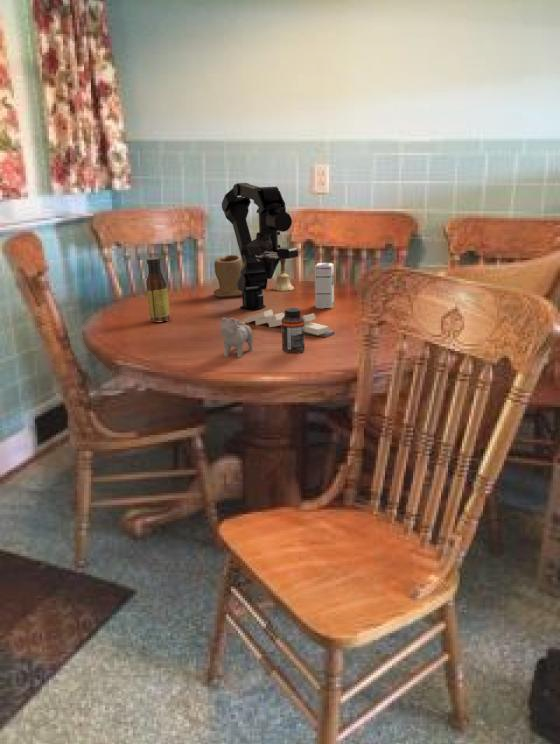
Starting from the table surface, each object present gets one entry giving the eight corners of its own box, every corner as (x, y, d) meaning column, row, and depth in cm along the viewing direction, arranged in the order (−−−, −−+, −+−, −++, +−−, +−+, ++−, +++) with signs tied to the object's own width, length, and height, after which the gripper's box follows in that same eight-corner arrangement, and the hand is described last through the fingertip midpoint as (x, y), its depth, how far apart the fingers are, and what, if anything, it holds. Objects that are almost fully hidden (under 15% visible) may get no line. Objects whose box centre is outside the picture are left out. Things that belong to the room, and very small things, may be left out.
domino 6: (303, 330, 192) (326, 334, 187) (311, 327, 195) (334, 330, 190) (303, 335, 192) (326, 339, 187) (311, 332, 195) (334, 336, 191)
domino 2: (255, 320, 202) (274, 315, 197) (263, 317, 205) (283, 312, 200) (256, 325, 202) (276, 320, 197) (265, 322, 205) (284, 317, 200)
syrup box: (332, 308, 221) (332, 265, 216) (314, 308, 222) (314, 265, 218) (334, 305, 226) (334, 262, 222) (317, 304, 227) (317, 262, 223)
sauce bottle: (173, 319, 211) (169, 257, 205) (164, 324, 206) (159, 260, 199) (155, 318, 213) (150, 256, 207) (145, 322, 208) (140, 259, 201)
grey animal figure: (216, 360, 169) (213, 319, 165) (237, 346, 180) (235, 308, 176) (234, 362, 167) (232, 321, 163) (255, 348, 178) (253, 310, 174)
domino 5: (298, 324, 192) (317, 329, 186) (309, 321, 194) (328, 326, 189) (298, 329, 192) (317, 335, 186) (309, 327, 195) (328, 332, 189)
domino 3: (268, 322, 199) (289, 317, 194) (276, 319, 202) (297, 314, 197) (269, 327, 199) (290, 323, 194) (278, 324, 203) (298, 320, 198)
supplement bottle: (281, 348, 177) (280, 307, 174) (303, 347, 178) (302, 306, 174) (283, 354, 172) (282, 312, 168) (305, 353, 172) (305, 311, 169)
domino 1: (244, 318, 204) (263, 312, 199) (252, 315, 207) (271, 309, 202) (245, 323, 204) (264, 317, 199) (254, 320, 208) (273, 314, 203)
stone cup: (215, 300, 237) (212, 258, 233) (212, 294, 248) (210, 254, 244) (256, 298, 239) (255, 256, 235) (252, 292, 251) (251, 252, 246)
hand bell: (271, 287, 258) (270, 246, 253) (292, 286, 259) (292, 245, 254) (273, 291, 250) (272, 249, 245) (295, 290, 251) (294, 248, 246)
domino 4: (286, 325, 195) (303, 315, 190) (296, 322, 198) (313, 313, 192) (288, 330, 195) (305, 320, 189) (298, 327, 198) (315, 318, 192)
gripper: (228, 230, 204) (230, 280, 209) (277, 233, 193) (278, 285, 198) (250, 226, 212) (252, 274, 217) (298, 229, 202) (299, 279, 207)
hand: (269, 278), depth 210 cm, fingers closed
